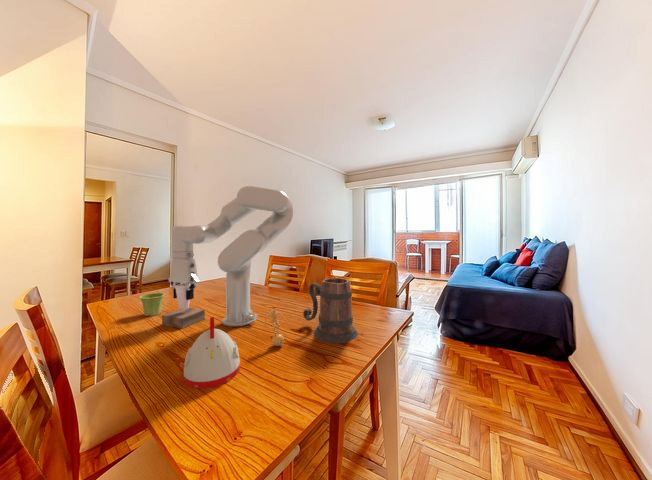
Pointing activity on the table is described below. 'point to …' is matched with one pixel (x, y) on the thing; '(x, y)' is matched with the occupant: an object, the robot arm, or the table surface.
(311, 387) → the table surface
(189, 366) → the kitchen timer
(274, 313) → the figurine
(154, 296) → the plant pot
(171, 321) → the plinth
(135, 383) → the table surface
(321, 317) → the tankard
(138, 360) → the table surface
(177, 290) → the smoothie
